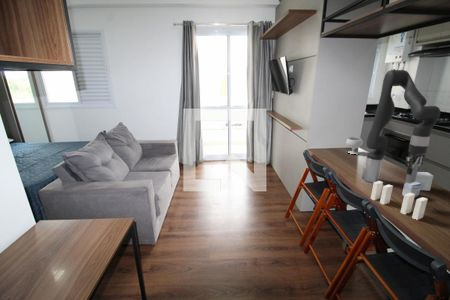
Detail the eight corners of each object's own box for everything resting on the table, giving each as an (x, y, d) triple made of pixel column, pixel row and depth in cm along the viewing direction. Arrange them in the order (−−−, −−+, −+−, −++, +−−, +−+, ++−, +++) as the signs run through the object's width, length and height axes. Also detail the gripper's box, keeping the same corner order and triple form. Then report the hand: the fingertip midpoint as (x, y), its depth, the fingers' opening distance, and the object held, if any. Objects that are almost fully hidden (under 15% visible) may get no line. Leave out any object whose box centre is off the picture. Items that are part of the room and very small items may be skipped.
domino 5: (411, 217, 113) (416, 199, 110) (417, 215, 115) (422, 197, 112) (416, 220, 111) (421, 201, 108) (422, 217, 113) (427, 199, 110)
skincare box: (424, 186, 145) (428, 172, 142) (430, 190, 140) (434, 176, 136) (406, 185, 148) (409, 170, 145) (410, 189, 142) (414, 174, 139)
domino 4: (400, 212, 118) (404, 194, 115) (406, 210, 120) (410, 192, 117) (404, 214, 116) (409, 196, 113) (410, 212, 118) (415, 194, 115)
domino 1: (370, 198, 133) (373, 182, 130) (376, 196, 135) (379, 180, 131) (374, 200, 131) (377, 183, 128) (379, 198, 133) (383, 182, 129)
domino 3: (404, 182, 122) (409, 163, 119) (410, 180, 124) (414, 162, 121) (409, 183, 120) (413, 165, 117) (414, 181, 122) (419, 163, 119)
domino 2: (379, 202, 128) (383, 186, 125) (385, 200, 130) (388, 184, 127) (383, 204, 126) (387, 187, 123) (389, 202, 128) (392, 185, 125)
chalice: (364, 154, 210) (367, 139, 206) (352, 156, 207) (355, 141, 203) (352, 150, 223) (355, 136, 219) (341, 152, 220) (343, 137, 215)
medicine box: (409, 198, 132) (412, 185, 129) (401, 195, 136) (404, 182, 133) (418, 196, 134) (421, 183, 131) (410, 193, 138) (413, 180, 135)
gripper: (418, 140, 122) (411, 168, 127) (402, 144, 116) (396, 173, 121) (435, 143, 115) (427, 173, 120) (419, 147, 110) (412, 178, 115)
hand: (412, 172), depth 121 cm, fingers closed on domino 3, 5 cm apart
